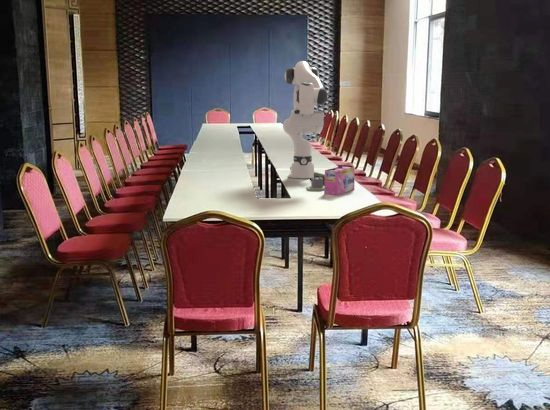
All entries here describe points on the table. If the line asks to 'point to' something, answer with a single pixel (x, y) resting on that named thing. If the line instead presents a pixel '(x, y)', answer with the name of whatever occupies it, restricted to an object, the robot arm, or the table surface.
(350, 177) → the gum box
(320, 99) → the robot arm
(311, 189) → the post board
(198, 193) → the table surface
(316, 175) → the handheld radio
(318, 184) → the collar
